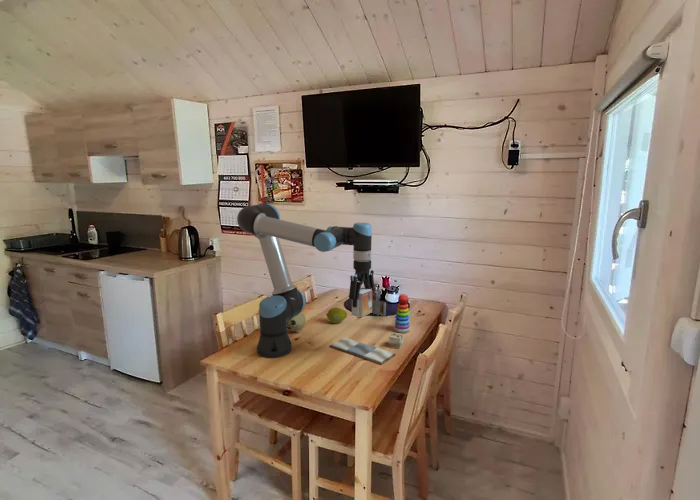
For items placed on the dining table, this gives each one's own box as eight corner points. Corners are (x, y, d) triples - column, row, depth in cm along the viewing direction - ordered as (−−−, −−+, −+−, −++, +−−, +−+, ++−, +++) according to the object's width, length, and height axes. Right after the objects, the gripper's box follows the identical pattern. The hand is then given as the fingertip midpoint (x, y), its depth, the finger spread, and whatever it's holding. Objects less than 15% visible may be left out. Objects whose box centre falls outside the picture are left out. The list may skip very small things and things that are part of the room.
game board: (381, 364, 170) (381, 362, 170) (329, 346, 187) (329, 344, 187) (395, 355, 179) (395, 353, 179) (344, 338, 196) (344, 336, 195)
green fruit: (324, 324, 213) (324, 309, 212) (328, 318, 221) (328, 304, 219) (344, 326, 211) (344, 311, 209) (348, 320, 218) (348, 306, 216)
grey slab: (364, 313, 230) (365, 296, 228) (367, 312, 232) (367, 295, 230) (383, 317, 224) (383, 300, 222) (385, 315, 227) (386, 298, 225)
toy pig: (278, 334, 201) (277, 313, 199) (292, 325, 211) (292, 305, 209) (295, 338, 196) (294, 316, 194) (309, 329, 207) (308, 308, 205)
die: (399, 348, 185) (400, 338, 184) (389, 347, 187) (389, 336, 186) (402, 344, 190) (403, 334, 189) (392, 342, 192) (392, 332, 191)
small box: (361, 318, 175) (362, 294, 172) (351, 315, 178) (351, 291, 176) (372, 312, 181) (372, 289, 179) (362, 309, 184) (362, 287, 182)
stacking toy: (391, 331, 204) (392, 295, 200) (397, 326, 211) (398, 290, 207) (406, 334, 200) (407, 297, 197) (412, 328, 207) (413, 293, 204)
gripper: (354, 265, 164) (354, 320, 169) (383, 256, 180) (382, 306, 185) (339, 263, 169) (340, 316, 173) (369, 254, 185) (368, 303, 189)
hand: (362, 311), depth 179 cm, fingers closed on small box, 8 cm apart
